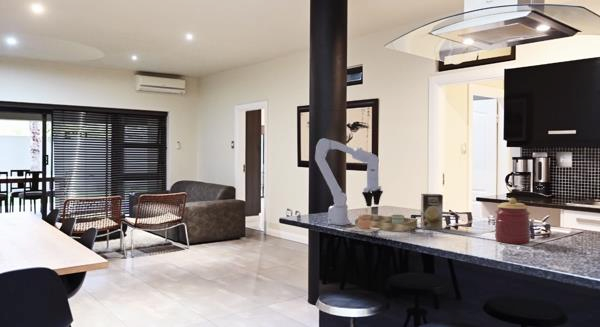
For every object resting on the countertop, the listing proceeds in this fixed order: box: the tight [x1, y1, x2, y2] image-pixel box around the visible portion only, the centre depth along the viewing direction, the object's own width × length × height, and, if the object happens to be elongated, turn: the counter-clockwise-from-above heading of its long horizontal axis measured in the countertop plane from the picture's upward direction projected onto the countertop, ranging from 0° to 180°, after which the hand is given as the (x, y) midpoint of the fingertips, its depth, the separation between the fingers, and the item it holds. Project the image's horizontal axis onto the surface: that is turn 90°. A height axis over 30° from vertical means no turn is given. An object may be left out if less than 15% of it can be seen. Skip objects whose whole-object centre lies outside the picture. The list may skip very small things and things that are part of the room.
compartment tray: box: [354, 214, 418, 232], centre depth 224 cm, size 25×15×4 cm, turn 52°
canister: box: [494, 197, 531, 245], centre depth 188 cm, size 13×13×18 cm
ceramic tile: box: [347, 226, 381, 233], centre depth 216 cm, size 12×9×1 cm
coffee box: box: [420, 193, 444, 230], centre depth 219 cm, size 9×6×16 cm
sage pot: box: [391, 214, 405, 225], centre depth 220 cm, size 6×6×6 cm
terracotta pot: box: [357, 214, 372, 229], centre depth 217 cm, size 6×6×6 cm
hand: (372, 205), depth 231 cm, fingers open, 7 cm apart
